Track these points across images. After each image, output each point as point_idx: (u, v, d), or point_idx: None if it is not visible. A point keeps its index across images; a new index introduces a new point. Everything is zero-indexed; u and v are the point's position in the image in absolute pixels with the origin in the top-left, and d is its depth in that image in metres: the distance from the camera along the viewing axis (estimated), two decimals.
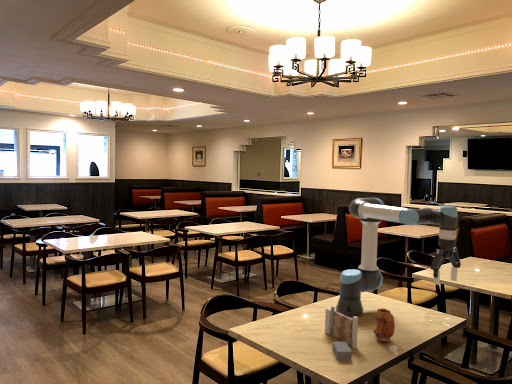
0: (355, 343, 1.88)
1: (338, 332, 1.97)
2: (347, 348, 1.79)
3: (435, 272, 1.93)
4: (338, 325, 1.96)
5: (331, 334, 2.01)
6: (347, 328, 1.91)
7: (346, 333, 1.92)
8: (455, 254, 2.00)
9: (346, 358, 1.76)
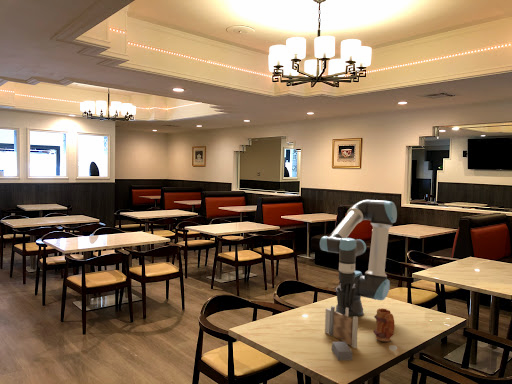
0: (355, 343, 1.88)
1: (338, 332, 1.97)
2: (347, 348, 1.79)
3: (343, 309, 1.94)
4: (338, 325, 1.96)
5: (331, 334, 2.01)
6: (347, 328, 1.91)
7: (346, 333, 1.92)
8: (353, 290, 1.96)
9: (347, 358, 1.76)
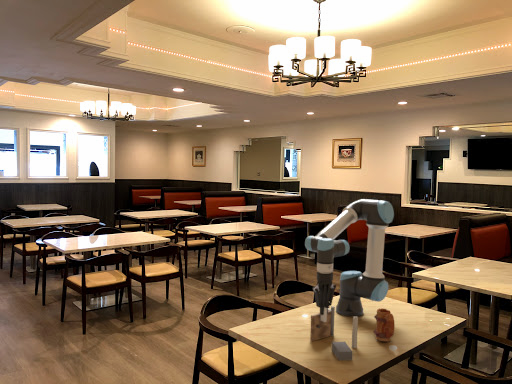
0: (355, 343, 1.88)
1: None
2: (347, 348, 1.79)
3: (321, 309, 1.93)
4: None
5: (331, 334, 2.01)
6: None
7: None
8: (331, 291, 1.95)
9: (347, 358, 1.76)
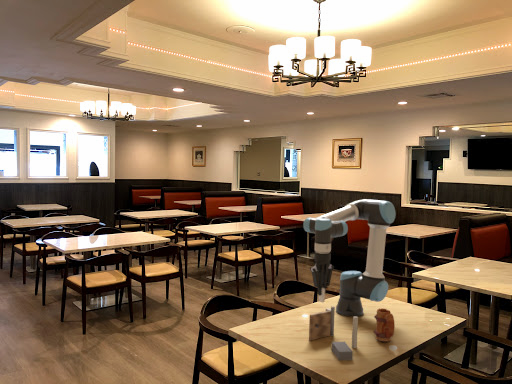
0: (355, 343, 1.88)
1: None
2: (347, 348, 1.79)
3: (319, 290, 1.93)
4: None
5: (331, 334, 2.01)
6: None
7: None
8: (329, 271, 1.95)
9: (347, 358, 1.76)
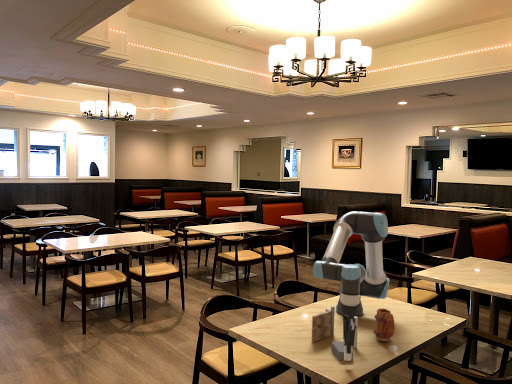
0: (355, 343, 1.88)
1: None
2: None
3: (350, 347, 1.68)
4: None
5: (331, 334, 2.01)
6: None
7: None
8: None
9: None
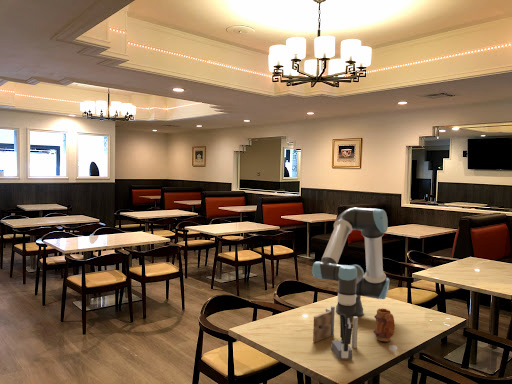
0: (355, 343, 1.88)
1: None
2: None
3: (346, 345, 1.73)
4: None
5: (331, 334, 2.01)
6: None
7: None
8: None
9: None
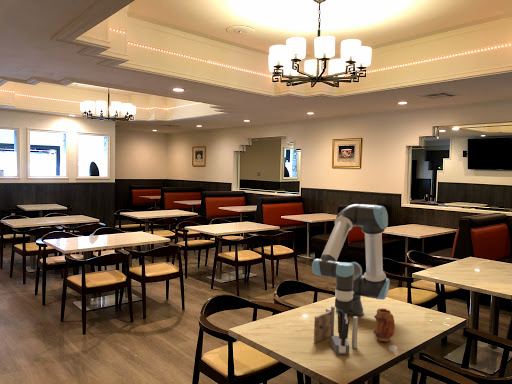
0: (355, 343, 1.88)
1: None
2: None
3: (344, 340, 1.78)
4: None
5: (331, 334, 2.01)
6: None
7: None
8: None
9: None
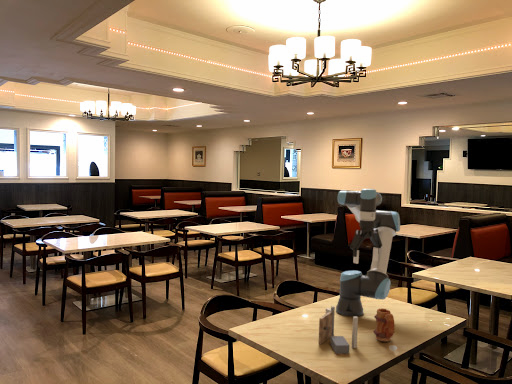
0: (355, 343, 1.88)
1: None
2: (345, 342, 1.85)
3: (354, 251, 2.03)
4: None
5: None
6: None
7: None
8: (376, 235, 2.10)
9: (344, 351, 1.82)
